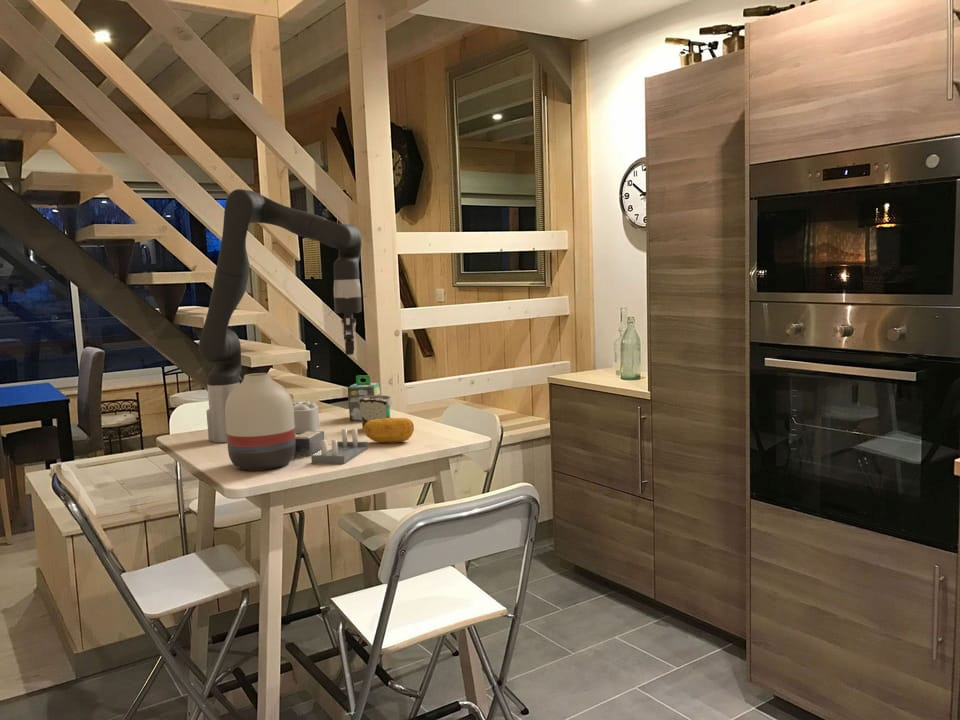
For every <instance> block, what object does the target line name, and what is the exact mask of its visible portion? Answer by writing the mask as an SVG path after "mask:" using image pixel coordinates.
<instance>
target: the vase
mask: <svg viewBox="0 0 960 720" xmlns="http://www.w3.org/2000/svg"><path fill="white" fill-rule="evenodd" d="M271 376H272V375H271V374H270V373H269V372H260V373H259V372H258V373H255V372H254V373H248V374H245V375H244V376H243V380H242V381H241V383H240V384H239V385H238V386H237V387H236V388H235V389H234V390H232V392H231V393H230V394H229V395H228V397H227V400H226V404H225V420H226V433H227V442H226V443H227V451H228V452H227V453H228V456H229V460H230V462H231V463H232V465H233V466H235V467H236V468H237V469H239V470H243V471H265V470H266V471H267V469H268V470H272V469H277V468H280V467H283V466H285V465H287V464H288V463H290V462H292V460H293V459H294V457H295V456H294V453H295V447H296V441H295V437H296V434H295V424H294V409H293V405H294V402H293V398H292V395H291V393H290V392H289V391H288V389H287V388H285V386H283V385H282V384H280V383H278V382H277V381H276V380H274V379H273V378H272V377H271Z"/></svg>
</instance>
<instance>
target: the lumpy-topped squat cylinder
mask: <svg viewBox="0 0 960 720" xmlns="http://www.w3.org/2000/svg"><path fill="white" fill-rule="evenodd" d="M293 409H294V424H295V433H304V432H306V431H316V430H317V431H319V429H320V428H319V427H320V415H319V414H320V413H319V406H318V405H317V403H316V402H311V401H308V400H306V401H305V402H304V403H303V401H297V402H296V403H295V404H293Z"/></svg>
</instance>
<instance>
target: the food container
mask: <svg viewBox="0 0 960 720" xmlns="http://www.w3.org/2000/svg"><path fill="white" fill-rule="evenodd" d="M358 404H359V405H360V412H361V420H360V421H361V426H362V430H364V425H365V423H367V422H368V421H370V420H373V419H384V418H391V406H392V405H393V404H394V403H393V399H392V398H391V396H389V395H381V394H380V395H372V396H363V397H359V399H358Z"/></svg>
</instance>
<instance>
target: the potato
mask: <svg viewBox="0 0 960 720" xmlns="http://www.w3.org/2000/svg"><path fill="white" fill-rule="evenodd" d="M414 426H415V425H414V423H413V421H412V420H411V419H410V418H404V417H398V418H397V417H396V418H395V417H390V418H384V419H373V420H370V421H368V422H367V423H365V425H364V429H363V432H364V434H365V436H366V437H367V438H369V439H370V440H372V441H373V442H378V443H380V444H394V443H395V444H396V443H401V442H402V443H404V442H405V441H408V440H409V439H410V438H411V437H412V436H413V434H414V433H413V432H414V430H415V427H414Z"/></svg>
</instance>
